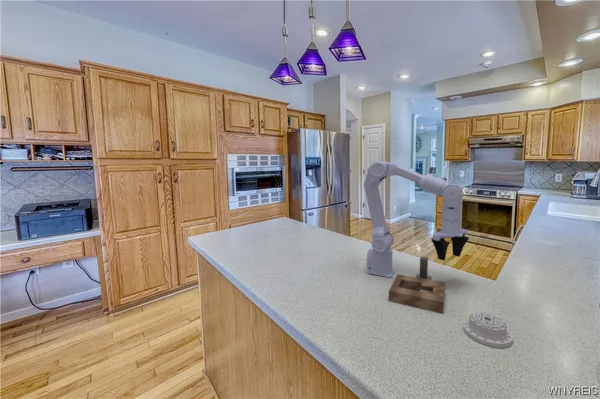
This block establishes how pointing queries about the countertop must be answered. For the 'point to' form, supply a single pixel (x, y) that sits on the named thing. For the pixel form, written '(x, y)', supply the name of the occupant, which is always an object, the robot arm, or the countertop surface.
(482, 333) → the mechanical component
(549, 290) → the countertop surface
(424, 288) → the keyhole plate
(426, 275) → the footed peg
